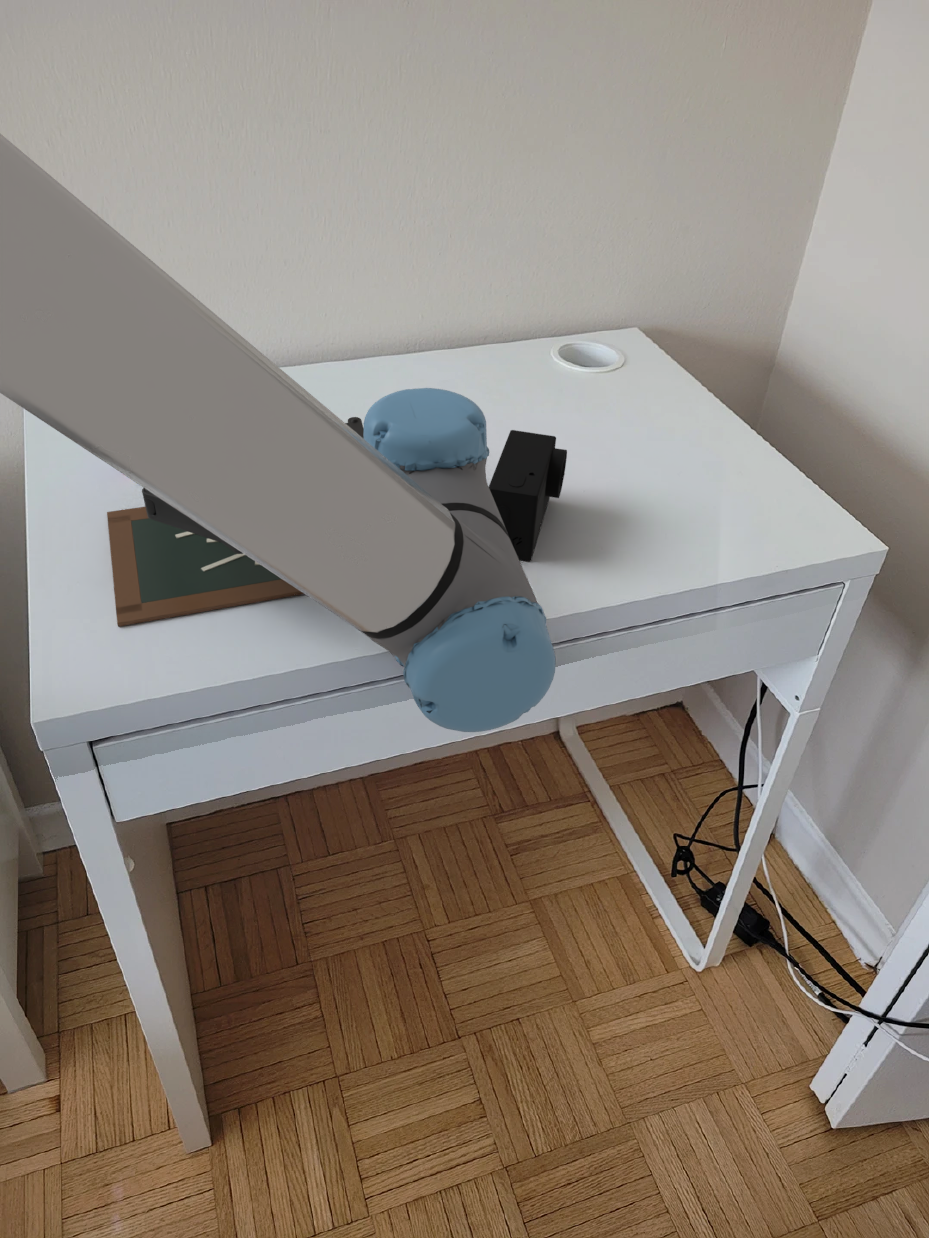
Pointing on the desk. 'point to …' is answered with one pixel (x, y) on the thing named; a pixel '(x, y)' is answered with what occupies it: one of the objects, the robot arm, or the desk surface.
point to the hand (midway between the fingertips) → (215, 426)
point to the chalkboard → (180, 571)
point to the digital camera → (527, 486)
